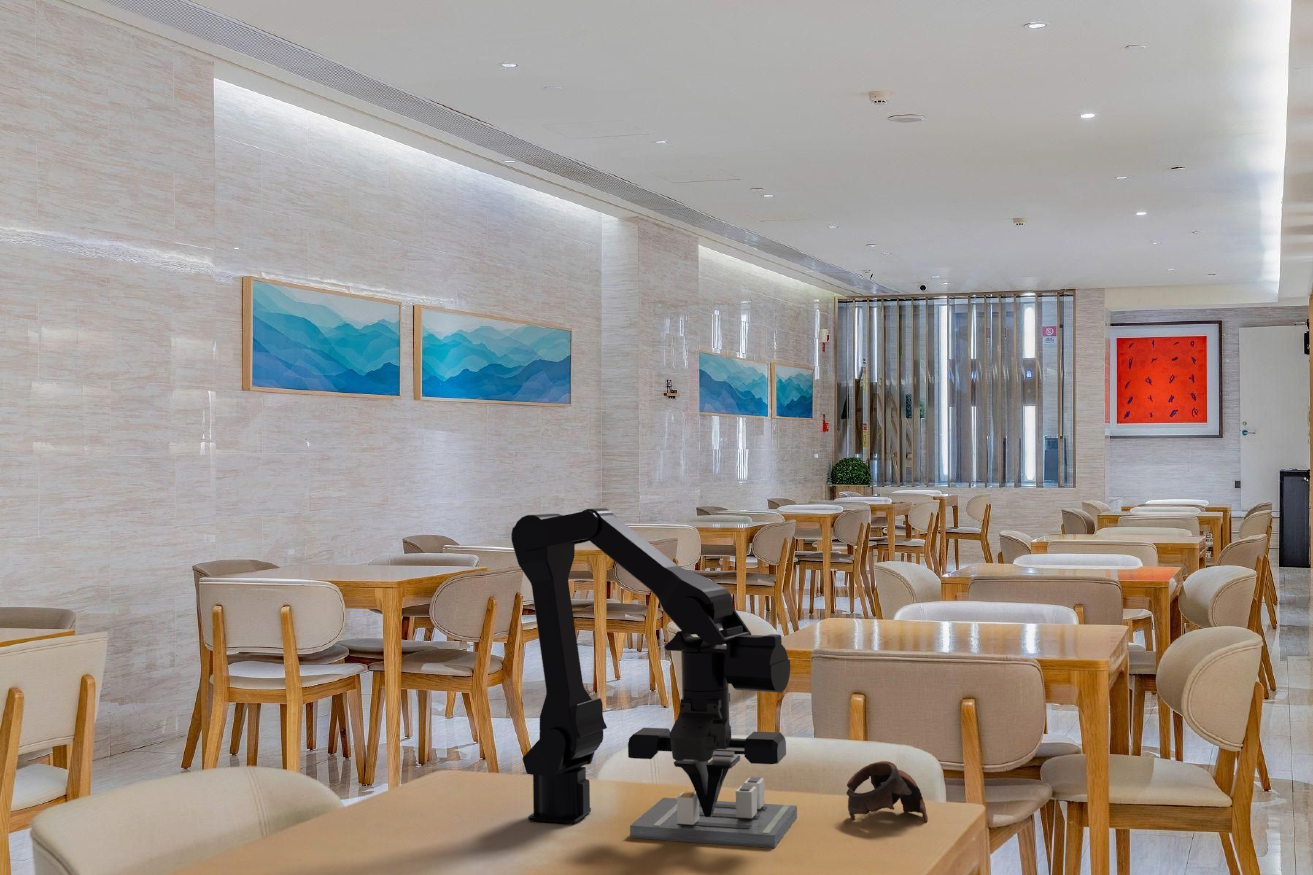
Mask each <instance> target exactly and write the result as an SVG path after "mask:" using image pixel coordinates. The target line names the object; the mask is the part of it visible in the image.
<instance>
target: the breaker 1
mask: <svg viewBox="0 0 1313 875" xmlns="http://www.w3.org/2000/svg"><path fill="white" fill-rule="evenodd" d="M676 798H677V819H678V824H691V825H694V824H695V823H696V822H697V821H698V820H699V800H698V797H697V794H696V791H695V790H694V791H693V790H692V791H690V790H685V791H682V792H681V793H680V794H679V795H678V796H677V797H676Z"/></svg>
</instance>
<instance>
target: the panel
mask: <svg viewBox="0 0 1313 875" xmlns="http://www.w3.org/2000/svg"><path fill="white" fill-rule="evenodd" d="M797 818H798V805H790V804H776V803H775V804H774V803H765V804H764V805H763V806H762V807H761V808H760V809H757V813H756V814H755V815H754V817H753V818H739V817H736V801H729V800H728V801H725V800H717V802H716V805H715V808H714V811H713V814H712V816H711V817H705V816H704V813H703V810H702V808H701V805H700V802H699V820H698V821H697V822H696V823H695V824H694V825H691V824H678V819H677V797H676V798H675V797H662V798H661V799H660V800H659V801H657V802H656V803H655V804H654V805H652V806H651V807H650V808H649V809H648V810H646V811H645V812H644V813H643V814H642V815H641V816H640V817H638V818H637V819H636V820H634V821H633V823H631V824H630V826H629V833H630V834H629V837H630V839H643V840H656V841H668V842H669V841H670V842H684V843H685V842H686V843H697V844H712V845H727V846H737V847H738V846H741V847H752V848H753V847H754V848H757V847H758V848H767V849H769V848H771V849H775V848H777V846H778V844H779V843H780V842H781V841H782V839H783V838H784V836H785V835H786V834H787V832H788V831H789V829H790V828H791V827H792V825H793V824H794V823H795V822H796V820H797Z"/></svg>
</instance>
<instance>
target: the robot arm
mask: <svg viewBox="0 0 1313 875" xmlns="http://www.w3.org/2000/svg"><path fill="white" fill-rule="evenodd" d="M510 539H511V545H512V547H513V551H514V554H515V558H516V562H517V564H518V566H519V568H520V569H521V570H522V572H523V573H524V575H525V576H526V579H527V580H528V581H529V583H530V585H531V592H532V598H533V605H534V611H535V618H536V626H537V627H536V628H537V633H538V641H539V648H540V654H541V661H542V670H543V676H544V682H545V683H544V684H545V692H546V693H545V697H544V700H543V705H542V708H541V711H540V713H539V714H540V715H539V739H537V741H536V743H534V744H533V745H532V747H531V748H530V749H529V750H528V752H526V753H525V754H524V756H522V762H523V766H524V768H525V772H526V774H527V775H532V788H533V789H532V791H533V792H532V794H533V795H532V798H533V800H532V802H533V803H532V804H533V806H532V807H533V808H532V809H533V810H532V811H533V812H532V813H531V814H530V815H528V817H527V818H528V819H527V820H528V821H531V822H535V821H536V822H545V823H546V822H548V823H558V824H559V823H561V824H564V823H565V824H575V823H576V824H577V822H579V821H580V820H581V819H583V818H584V817H585V816H587V815H588V814H590V813H591V811H592V808H591V803H590V802H591V799H590V798H591V795H590V794H591V793H590V790H591V789H590V786H591V785H590V779H587V776H586V775H587V772H586V769H587V768H586V767H585V766H586V765H587V766H588V765H591V764H592V762H593V759H594V755H595V752H596V751H598V749H599V747H600V746H601V744H602V743H603V740H604V730H606V729H607V728H608V726H607V723H606V721H605V719H604V716H603V715H604V713H603V712H604V711H603V701H602V699H601V697H597V698H594V699H592V697H591V696H590V694H589V693H588V691H587V690H586V688H585V686H584V682H583V675H582V669H581V668H582V666H581V662H580V661H581V660H580V655H579V653H580V652H579V647H578V638H577V633H576V626H575V620H574V613H573V612H574V611H573V605H572V597H571V592H570V584H569V576H570V572H571V569H572V566H573V563H574V560H575V556H576V555H575V553H576V552H575V546H576V545H578V544H584V543H587V542H590V543H591V544H593V545H594V546H595V547H596V548H597V549H599V551H600V550H601V551H602V553H604V554H605V555H607V557H609V558H610V559H612V561H614V562H615V563H616V564H617V565H619V566H620V567H621V568H622V569H624V570H625V571H626V572H628V573H629V574H630V575H631V576H632V577H633V578H635V580H637V581H639V582H640V583H641V584H642V585H643V586H645V587H646V588H647V589H648V590H650V591H651V592H652V594H654V595H655V597H656V598H657V600H658V602H659V604H660V606H661V608H662V610H663V612H664V613H665V614H666V615H667V617H669V619H670V620H671V621H672V622H673V623H674V624H675V626H676V627H677V628H678V631H676V632H675V634H674V636H673V637H672V638H671V640H669V641H668V642H667V643H666V644H665V645H664V649H665V650H666V651H668V652H669V651H671V652H680V654H681V693H682V694H681V695H682V698H681V699H680V700H679V701H680V703H679V712H678V716H677V719H676V720H675V721H674V723H673V726H672V727H671V730H670V728H667V727H666V728H664V727H663V728H661V727H642V728H641V729H639V730H637V731H635V733H633V734H632V735H631V736H630V737H628V738H629V739H628V742H627V757H628V758H629V759H641V760H652V759H654V758H655V756H656V755H657V754H658V753H659V752H670V753H671V755H672V759H673V760H674V761H673V765H674V767H675V768H681V769H682V771H684V772H685V773H686V775H687V776H688V777H689V779H690V782H691V784H692V786H693V788H694V791H695V792H696V794H697V797H698V800H699V802H700V805H701V808H702V810H703V813H704V816H705V817H711V816H712V814H713V811H714V808H715V805H716V802H717V801H718V798H719V796H720V793H721V789H722V786H723V785H724V781H725V778H726V776H727V774H728V772H729V770H730V769H732V768H734V766H736V765H737V763H739V762H740V761H741V756H740V755H744V758H745V759H746V760H747V761H748V762H749V763H750V764H754V765H755V764H757V765H778V764H779V763H780V762H781V760H783V759H784V757H785V756H786V755H787V742H786V738H785V736H784V735H783V734H782V733H781V732H780V731H778V732H776V731H775V732H774V731H773V732H772V731H753V732H752V733H750V734H749V735H748V736H747V737H746V738H735V737H733V738H732V725H730V702H731V692H730V691H729V685H731V687H732V688H733V689H735V690H736V691H745V692H746V691H748V692H760V693H761V692H762V693H763V692H764V693H779V694H782V693H783V692H784V691H786V688H787V686H788V683H789V680H790V674H791V660H790V659H789V656H788V651H787V649H786V648H785V646H784V645H783V644H782V635H781V634H779V633H778V634H775V633H774V634H772V633H771V634H767V635H755V634H752V632H751V631H750V629H749V628H748V627H747V625H746V623H745V622H744V621H743V620H742V618H741V616H740V615H739V613H738V612H737V610H736V609H735V608H734V604H733V597H732V595H731V593H730V592H729V591H728V590H727V589H726V588H725V587H724V586H723V585H720V584H718V583H716V582H715V581H713V580H711V579H710V578H707V577H706V576H703V575H701V574H699V573H696V572H692V571H689V570H688V569H685V568H683V567H681V566H680V565H677V563H675V562H674V561H673V560H671V559H670V558H668V556H667V555H665V554H664V553H663V552H661V551H660V550H658V549H657V548H656V547H654V546H653V545H652V544H651V543H649V542H648V541H647V540H646V539H645V538H643V537H642V536H641V535H640V534H638V533H637V532H636V531H634V530H633V529H632V528H631V527H629V526H628V525H627V524H625V523H624V522H623V521H622V520H621V519H619V518H618V517H617V515H616V514H615V513H614V512H613V511H612V510H610V509H608V508H604V507H596V508H595V507H594V508H586V509H584V510H583V509H582V511H579V512H573V513H569V514H563V515H562V514H560V513H543V514H541V513H540V514H539V513H538V514H526V515H524V516H522V517H521V518H519V519H518V520H517V521H516V523H515V525H514V526H513V527H512V529H511V538H510ZM693 635H695V636H693Z"/></svg>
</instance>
